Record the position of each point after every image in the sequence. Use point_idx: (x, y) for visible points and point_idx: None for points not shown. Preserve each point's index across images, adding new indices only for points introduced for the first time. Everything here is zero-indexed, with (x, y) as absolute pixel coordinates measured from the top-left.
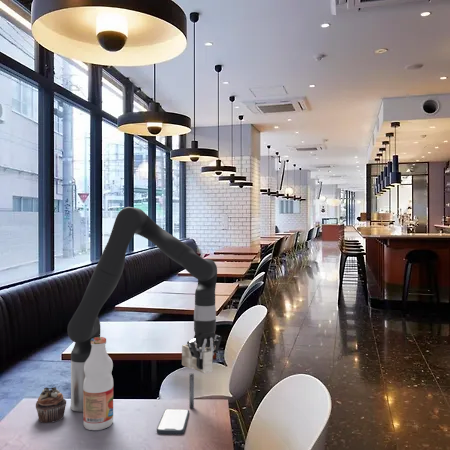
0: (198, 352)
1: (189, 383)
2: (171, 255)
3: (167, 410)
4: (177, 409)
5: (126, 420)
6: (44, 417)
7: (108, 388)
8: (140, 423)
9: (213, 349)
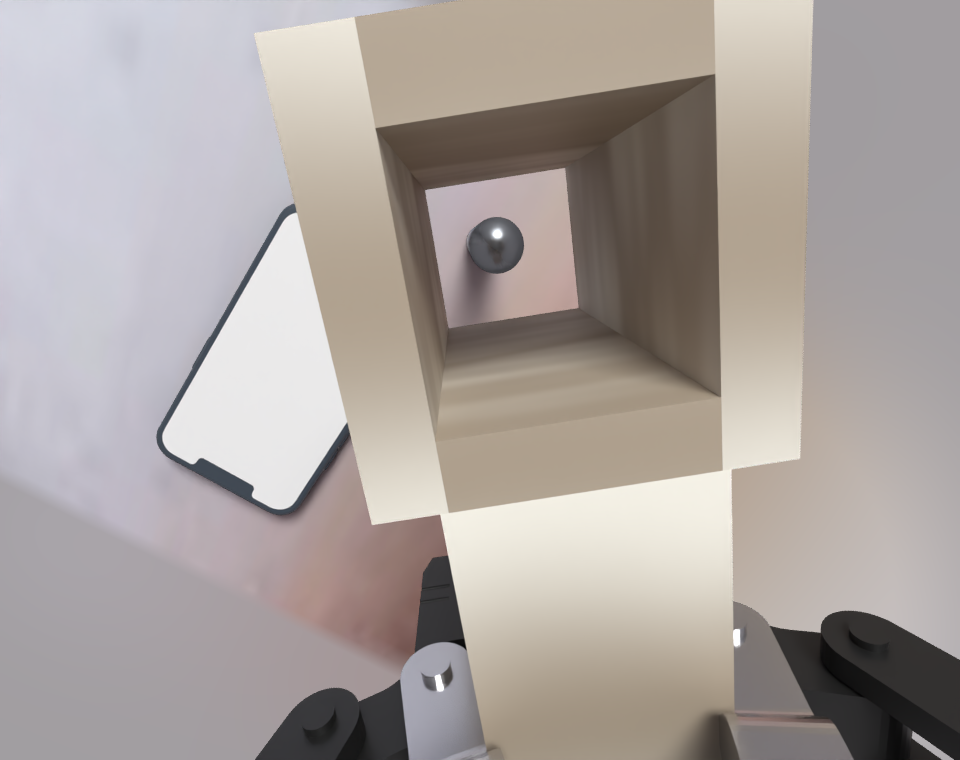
0: (459, 752)
1: (468, 240)
2: None
3: (297, 230)
4: None
5: (13, 179)
6: None
7: None
8: (98, 272)
9: (863, 739)
